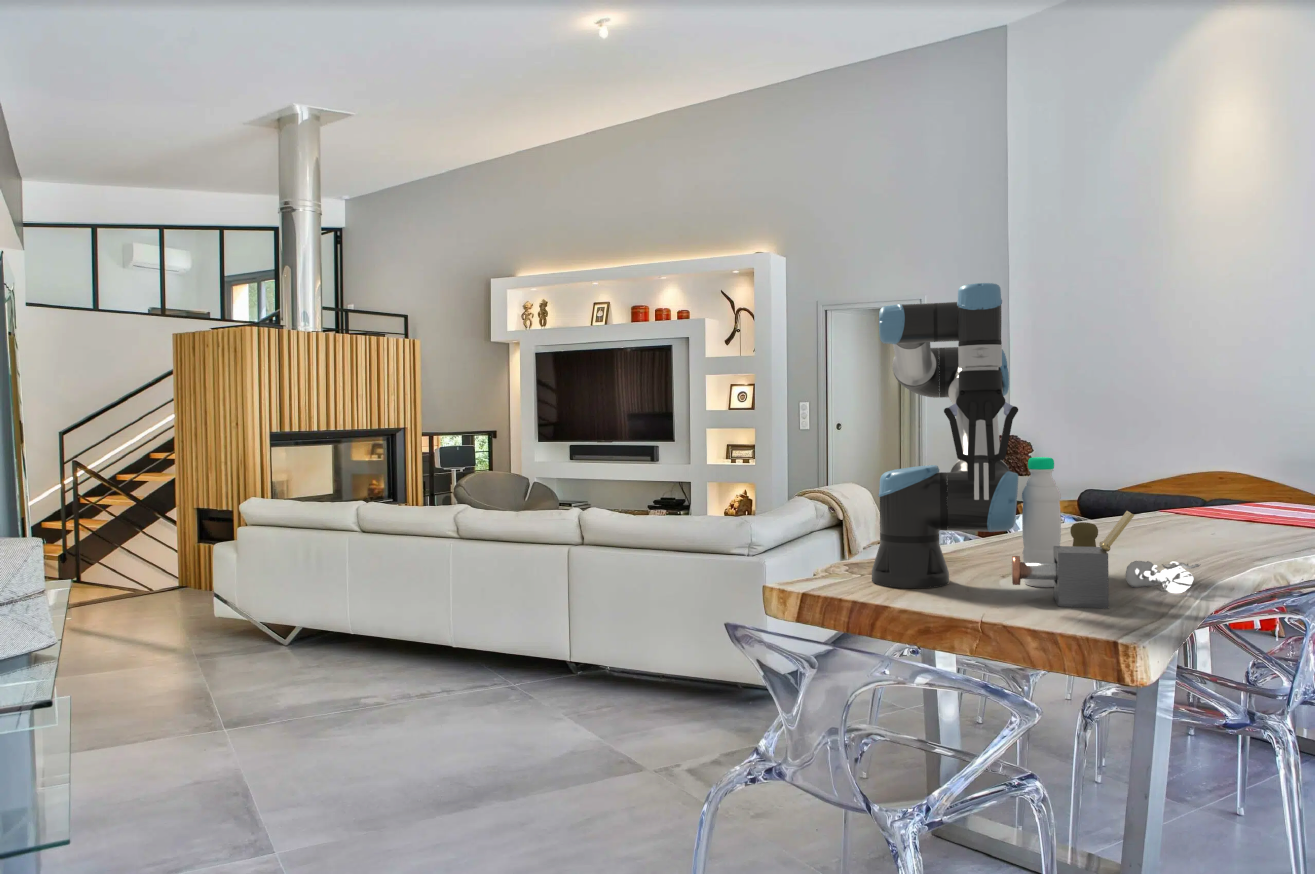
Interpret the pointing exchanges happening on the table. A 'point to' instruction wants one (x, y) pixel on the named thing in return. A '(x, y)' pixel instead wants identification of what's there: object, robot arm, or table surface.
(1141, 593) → the table surface
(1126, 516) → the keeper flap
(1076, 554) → the block
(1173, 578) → the figurine
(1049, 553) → the water bottle
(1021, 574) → the pin
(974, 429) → the robot arm
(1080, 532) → the cork
